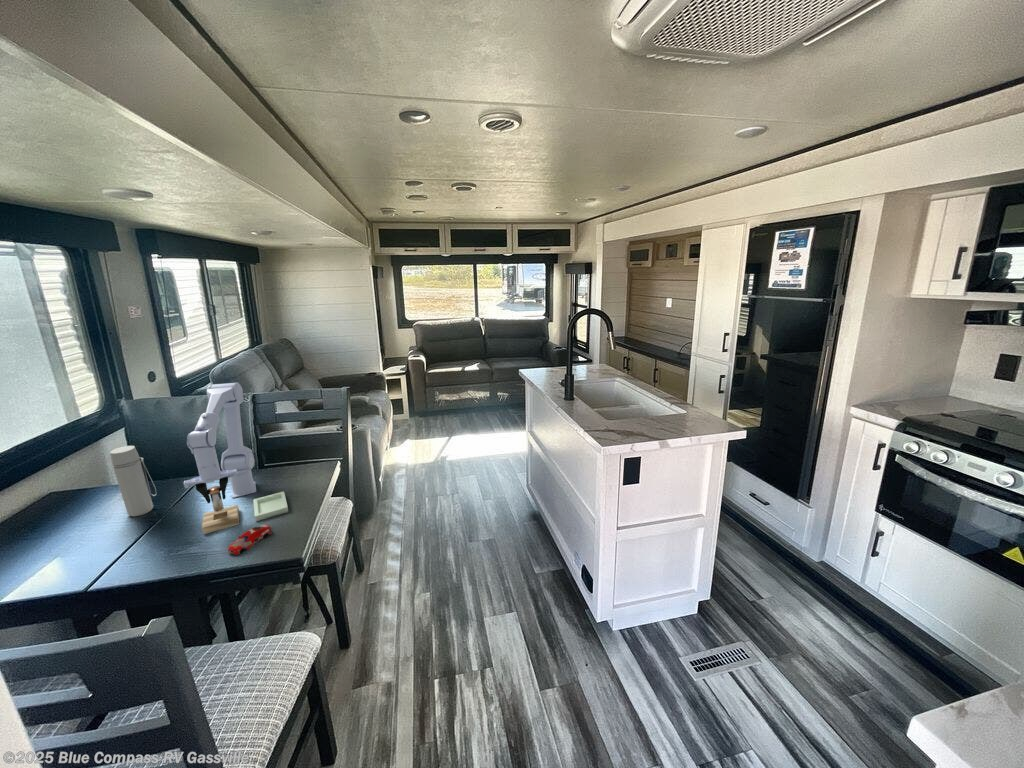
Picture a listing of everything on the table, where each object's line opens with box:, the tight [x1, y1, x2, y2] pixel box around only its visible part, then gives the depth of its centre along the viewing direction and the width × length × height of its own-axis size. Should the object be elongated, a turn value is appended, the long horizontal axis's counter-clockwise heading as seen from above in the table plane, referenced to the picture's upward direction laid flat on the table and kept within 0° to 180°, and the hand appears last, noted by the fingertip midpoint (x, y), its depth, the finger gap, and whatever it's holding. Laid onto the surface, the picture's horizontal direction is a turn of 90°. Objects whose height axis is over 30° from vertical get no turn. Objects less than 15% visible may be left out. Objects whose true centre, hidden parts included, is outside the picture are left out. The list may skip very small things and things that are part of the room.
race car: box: [227, 523, 273, 556], centre depth 131 cm, size 13×5×4 cm, turn 156°
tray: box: [252, 490, 289, 522], centre depth 150 cm, size 13×10×2 cm
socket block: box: [201, 504, 240, 535], centre depth 142 cm, size 10×10×2 cm
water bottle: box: [109, 445, 157, 517], centre depth 146 cm, size 9×8×25 cm
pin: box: [207, 485, 225, 512], centre depth 140 cm, size 4×4×8 cm
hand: (216, 499), depth 140 cm, fingers closed on pin, 4 cm apart
